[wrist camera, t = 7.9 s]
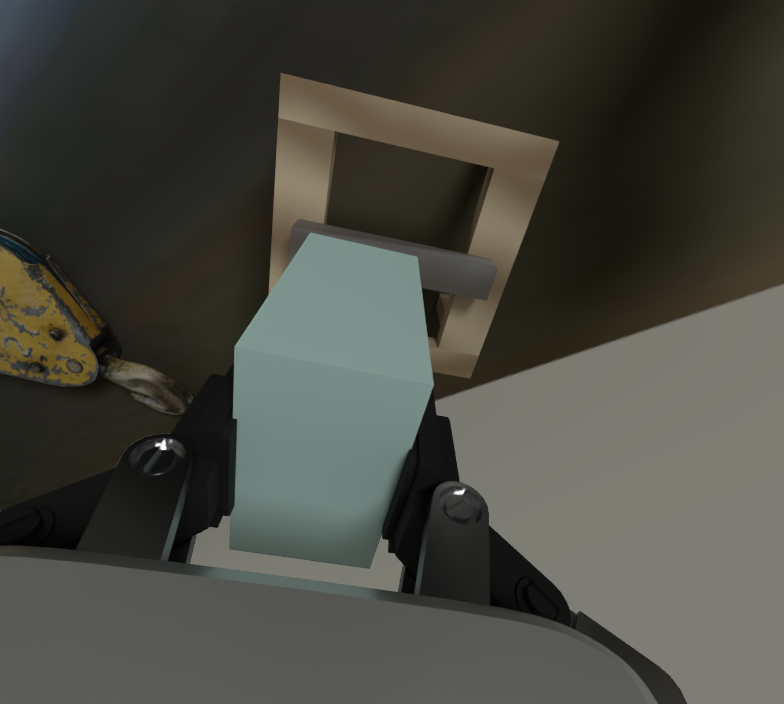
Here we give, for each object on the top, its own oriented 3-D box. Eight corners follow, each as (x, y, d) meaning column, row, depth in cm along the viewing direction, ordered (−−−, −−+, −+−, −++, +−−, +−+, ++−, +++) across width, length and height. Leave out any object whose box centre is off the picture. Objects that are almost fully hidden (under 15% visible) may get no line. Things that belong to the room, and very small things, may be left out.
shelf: (318, 84, 31) (270, 69, 19) (506, 130, 32) (573, 144, 20) (299, 279, 39) (257, 357, 27) (450, 309, 40) (475, 394, 28)
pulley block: (148, 473, 44) (-200, 309, 34) (170, 440, 49) (-126, 290, 39) (217, 380, 40) (-151, 166, 30) (232, 355, 45) (-77, 166, 35)
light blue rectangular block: (310, 232, 15) (235, 346, 8) (417, 256, 15) (433, 385, 8) (292, 381, 18) (229, 549, 11) (379, 397, 19) (369, 568, 12)
